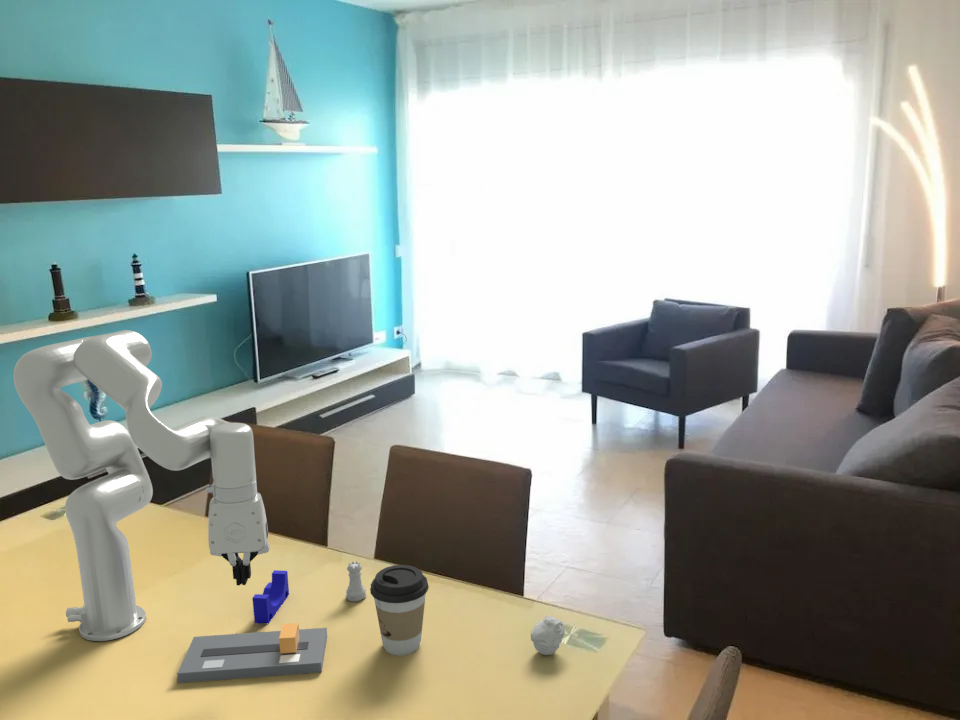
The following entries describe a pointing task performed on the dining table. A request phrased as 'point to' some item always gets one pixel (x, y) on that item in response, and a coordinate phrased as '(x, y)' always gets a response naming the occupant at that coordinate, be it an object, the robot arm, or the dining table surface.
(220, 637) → the switch panel
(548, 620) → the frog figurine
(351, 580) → the rook chess piece
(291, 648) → the switch knob
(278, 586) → the blue curved stepped piece
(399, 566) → the coffee cup
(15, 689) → the dining table surface
